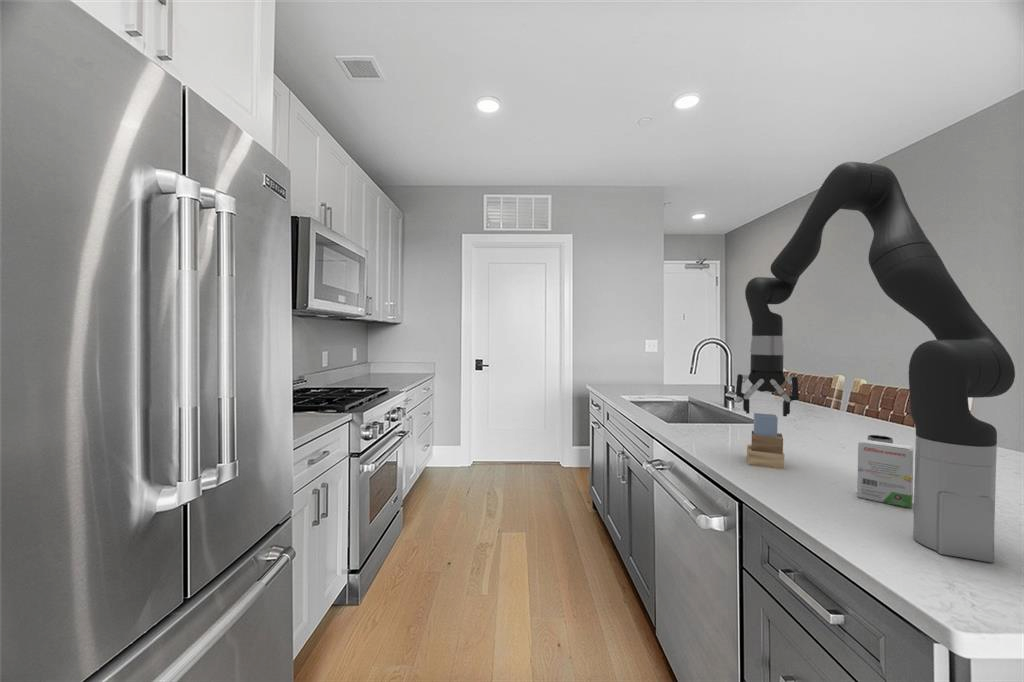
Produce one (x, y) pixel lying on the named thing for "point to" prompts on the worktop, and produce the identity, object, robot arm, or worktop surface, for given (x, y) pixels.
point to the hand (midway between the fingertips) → (765, 414)
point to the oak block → (764, 459)
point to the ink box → (885, 472)
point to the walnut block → (767, 444)
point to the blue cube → (765, 425)
